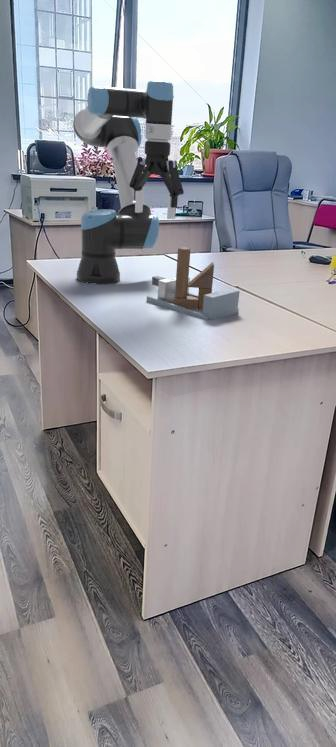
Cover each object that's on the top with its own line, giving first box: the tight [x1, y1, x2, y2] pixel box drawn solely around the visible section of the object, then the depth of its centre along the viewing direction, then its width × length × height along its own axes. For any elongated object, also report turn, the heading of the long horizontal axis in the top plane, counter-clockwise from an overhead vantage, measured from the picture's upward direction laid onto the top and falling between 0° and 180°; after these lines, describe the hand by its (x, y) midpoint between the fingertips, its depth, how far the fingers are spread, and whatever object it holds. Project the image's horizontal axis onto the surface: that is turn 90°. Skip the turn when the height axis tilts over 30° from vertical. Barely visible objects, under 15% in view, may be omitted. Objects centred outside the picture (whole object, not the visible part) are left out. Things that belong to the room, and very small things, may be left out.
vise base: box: [146, 288, 241, 321], centre depth 159 cm, size 25×14×8 cm, turn 45°
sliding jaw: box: [151, 275, 191, 304], centre depth 166 cm, size 10×11×7 cm
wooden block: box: [173, 246, 215, 311], centre depth 156 cm, size 4×11×18 cm, turn 91°
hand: (154, 215), depth 166 cm, fingers open, 13 cm apart
